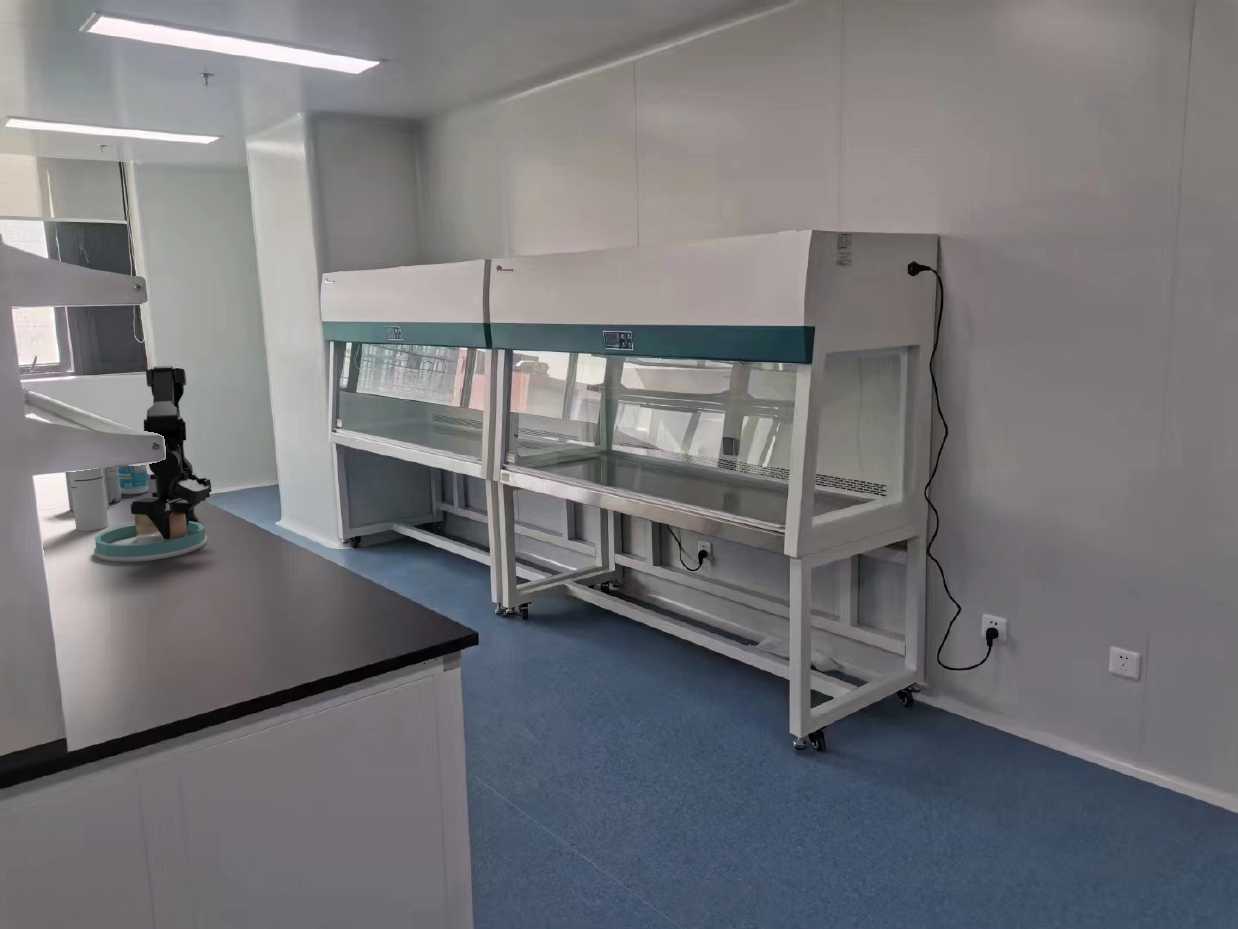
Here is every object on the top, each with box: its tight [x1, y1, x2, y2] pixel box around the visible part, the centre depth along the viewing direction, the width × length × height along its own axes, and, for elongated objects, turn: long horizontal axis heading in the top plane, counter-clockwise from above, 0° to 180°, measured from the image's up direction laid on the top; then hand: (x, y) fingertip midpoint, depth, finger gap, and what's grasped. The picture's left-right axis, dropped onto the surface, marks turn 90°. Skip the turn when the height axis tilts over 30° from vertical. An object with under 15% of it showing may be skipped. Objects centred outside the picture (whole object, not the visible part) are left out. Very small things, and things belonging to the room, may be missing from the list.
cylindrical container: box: [69, 468, 110, 532], centre depth 224 cm, size 7×7×25 cm
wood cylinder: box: [133, 514, 159, 535], centre depth 212 cm, size 5×5×6 cm
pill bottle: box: [117, 464, 150, 496], centre depth 264 cm, size 8×7×14 cm
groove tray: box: [93, 521, 208, 563], centre depth 207 cm, size 23×23×4 cm
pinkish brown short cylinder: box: [163, 512, 188, 541], centre depth 205 cm, size 5×5×6 cm
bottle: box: [105, 466, 122, 504], centre depth 252 cm, size 7×7×20 cm
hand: (175, 536), depth 205 cm, fingers closed on pinkish brown short cylinder, 5 cm apart
